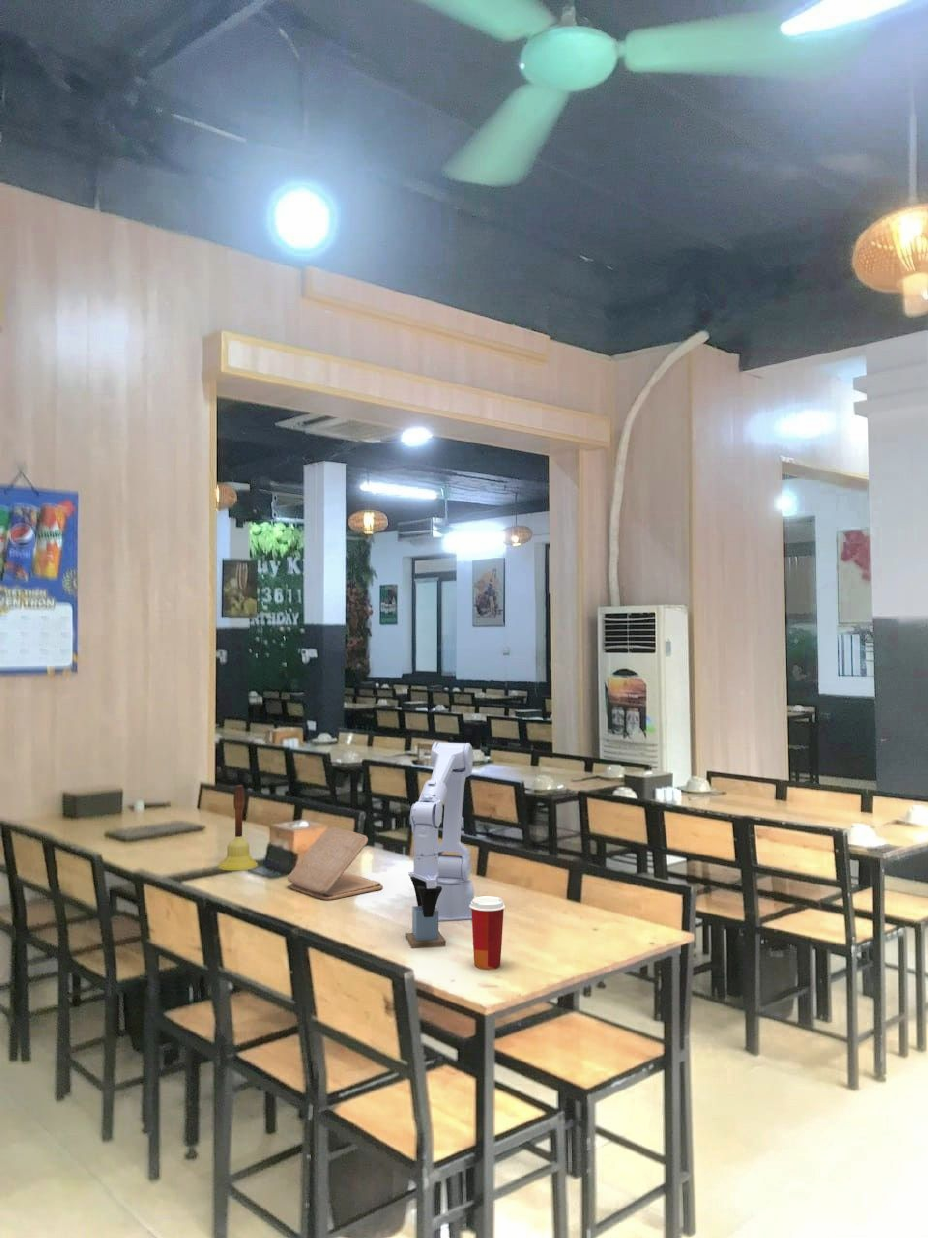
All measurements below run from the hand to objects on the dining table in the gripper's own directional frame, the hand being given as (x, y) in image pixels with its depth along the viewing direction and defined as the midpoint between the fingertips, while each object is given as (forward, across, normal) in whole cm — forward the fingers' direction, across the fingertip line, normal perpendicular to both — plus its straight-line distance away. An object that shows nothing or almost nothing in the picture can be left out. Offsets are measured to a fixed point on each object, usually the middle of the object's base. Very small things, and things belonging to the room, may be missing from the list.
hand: (425, 912), depth 224 cm
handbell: (+7, -87, -43) cm, 97 cm away
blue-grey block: (+6, 0, 0) cm, 6 cm away
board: (+7, 0, 0) cm, 7 cm away
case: (+8, -53, -16) cm, 56 cm away
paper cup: (+7, +19, +10) cm, 23 cm away
